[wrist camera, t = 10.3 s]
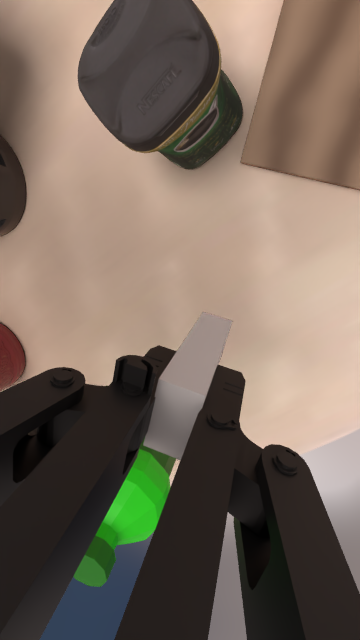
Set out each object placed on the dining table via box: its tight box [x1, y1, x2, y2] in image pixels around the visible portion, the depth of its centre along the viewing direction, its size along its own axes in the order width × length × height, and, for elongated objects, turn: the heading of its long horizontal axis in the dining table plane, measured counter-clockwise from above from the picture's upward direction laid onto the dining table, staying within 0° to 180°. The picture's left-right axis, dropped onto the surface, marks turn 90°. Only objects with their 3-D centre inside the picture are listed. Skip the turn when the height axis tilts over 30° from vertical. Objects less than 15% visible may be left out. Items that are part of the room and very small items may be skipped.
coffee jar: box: [78, 0, 243, 169], centre depth 28 cm, size 10×8×19 cm
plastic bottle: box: [73, 437, 176, 587], centre depth 39 cm, size 10×10×25 cm
